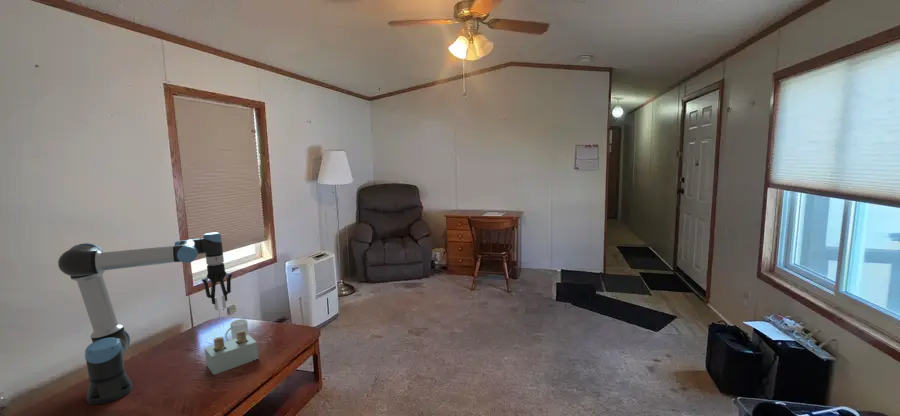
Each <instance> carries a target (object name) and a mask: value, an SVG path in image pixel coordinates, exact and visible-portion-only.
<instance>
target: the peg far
mask: <svg viewBox="0 0 900 416" xmlns="http://www.w3.org/2000/svg"><path fill="white" fill-rule="evenodd" d="M236 334H237V343H238V345H239V344H242V343H245V342H246V332H245V330H241V331H238V332H237V333H236Z"/></svg>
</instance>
